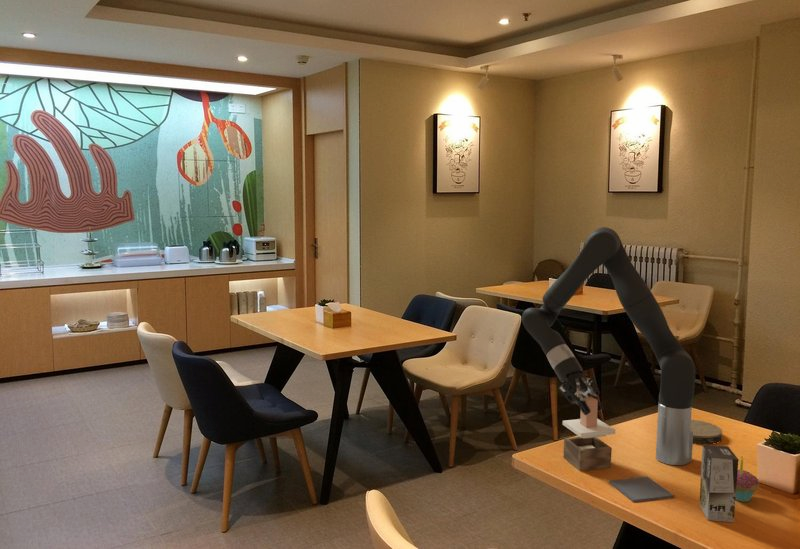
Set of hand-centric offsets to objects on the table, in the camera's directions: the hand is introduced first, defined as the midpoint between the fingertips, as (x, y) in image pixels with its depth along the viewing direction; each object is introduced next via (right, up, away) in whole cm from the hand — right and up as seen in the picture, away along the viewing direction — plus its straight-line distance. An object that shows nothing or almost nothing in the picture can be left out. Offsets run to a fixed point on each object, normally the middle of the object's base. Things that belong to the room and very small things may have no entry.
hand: (594, 411), depth 197 cm
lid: (-1, -7, +2) cm, 7 cm away
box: (-1, -16, +4) cm, 16 cm away
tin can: (+41, -14, +26) cm, 50 cm away
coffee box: (+23, -20, -27) cm, 41 cm away
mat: (+8, -18, -15) cm, 25 cm away
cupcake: (+33, -19, -19) cm, 43 cm away
